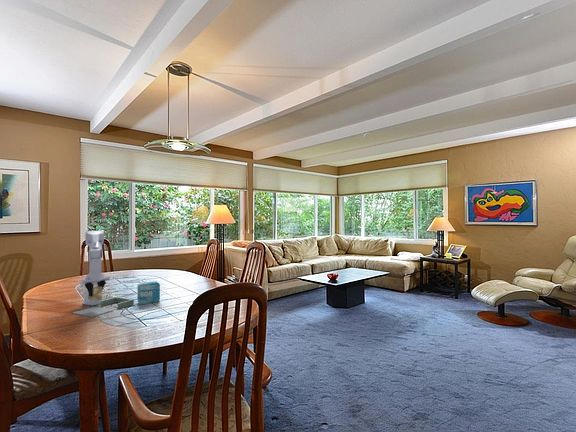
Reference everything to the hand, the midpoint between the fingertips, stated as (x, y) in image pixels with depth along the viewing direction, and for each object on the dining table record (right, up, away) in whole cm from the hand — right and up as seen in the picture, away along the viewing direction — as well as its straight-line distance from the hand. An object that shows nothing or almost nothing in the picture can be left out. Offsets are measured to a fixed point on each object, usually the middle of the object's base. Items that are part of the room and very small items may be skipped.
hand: (95, 295), depth 173 cm
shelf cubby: (+5, -9, +12) cm, 15 cm away
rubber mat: (-1, -9, -1) cm, 9 cm away
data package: (+21, -9, +19) cm, 30 cm away
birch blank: (0, -2, 0) cm, 2 cm away
